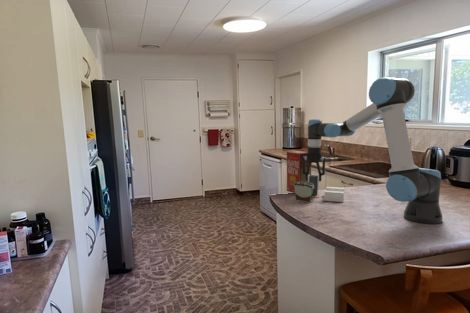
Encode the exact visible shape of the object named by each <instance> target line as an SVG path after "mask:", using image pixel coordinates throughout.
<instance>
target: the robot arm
mask: <svg viewBox="0 0 470 313" xmlns="http://www.w3.org/2000/svg"><path fill="white" fill-rule="evenodd" d="M368 90H369V91H368V98H369V100H370V102H371V104H369V105H368V106H365V108H363V109H361V110H360V111H358V112H356V113H355V114H353V115H352V116H350V117H348V119H346V120H344V121H343V122H325V123H324V122H323V120H321V119H318V118H317V119H309V120H308V122H307V124H308V125H307V152H308V154H307V156H305V157H302V160H303V174H305V175H306V181H308V182H309V176H310V175H309V171H310V167H311V168H312V164H314V163H315V164H316V168H317V173H318V175H317V176H318V183H317V187H318V188H319V187H320V182H322V177H323V176H324V175H325V174H326V160H327V157H325V156H322V147H321V146H322V137H324V138H331V139H332V138H337V137H350V136H353V135H354V134H355V133H356V131H357V130H359V129H361V128H362V127H364V126H366V125H368V124H369V123H371V122H374V121H375V120H377V119H378V118H380V117H381V118H382V119H381V120H382V123H383V128H384V134H385V138H386V143H387V144H386V145H387V149H388V154H389V159H390V164H391V168H390V169H389V170H388V174H389V177H388V178H387V181H386V182H385V189H386V192H387V193H388V194H389V196H390V197H392V199H394V200H395V201H398V202H401V203H403V202H404V203H406V202H407V204H406V207H405V209H404V211H403V217H404V218H405V219H406V220H408V221H412V222H415V223H422V224H427V225H429V224H430V225H431V224H432V225H435V224H440V223H443V213H442V210H441V207H440V193H441V181H442V173H441V171H439V170H438V169H431V168H425V167H424V168H422V167H419V166H417V165H416V164H415V162H414V157H413V153H412V148H411V144H410V143H411V142H410V138H409V133H408V128H407V121H406V118H405V113H404V108H405V107H406V106H407V104H408V103H409V102H410V101H411V100H412V99H413V97H414V95H415V91H416V90H415V86H414V84H413V82H412V81H410V80H409V79H407V78H402V77H398V78H396V77H391V76H384V77H380V78H377V79H376V80H375V81H373V83H371V86H369V89H368ZM307 158H308V160H309V165H308V169H307V172H306V159H307ZM320 160H321V162H322V165H321V166H322V168H321V166H320Z"/></svg>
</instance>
